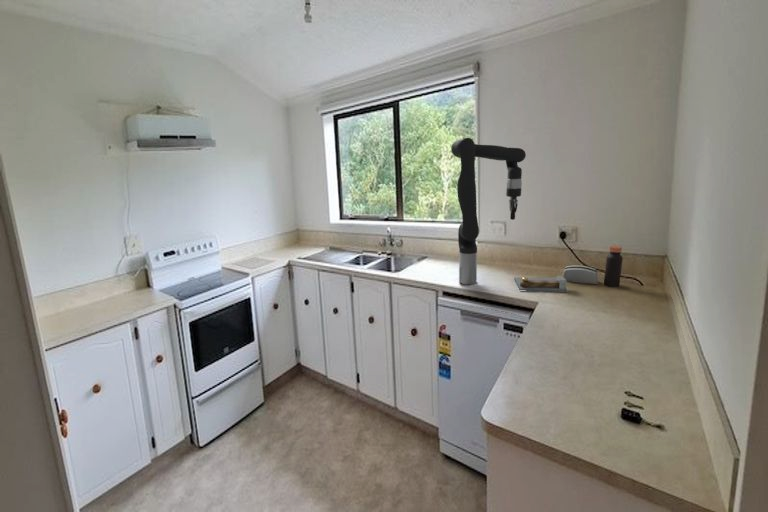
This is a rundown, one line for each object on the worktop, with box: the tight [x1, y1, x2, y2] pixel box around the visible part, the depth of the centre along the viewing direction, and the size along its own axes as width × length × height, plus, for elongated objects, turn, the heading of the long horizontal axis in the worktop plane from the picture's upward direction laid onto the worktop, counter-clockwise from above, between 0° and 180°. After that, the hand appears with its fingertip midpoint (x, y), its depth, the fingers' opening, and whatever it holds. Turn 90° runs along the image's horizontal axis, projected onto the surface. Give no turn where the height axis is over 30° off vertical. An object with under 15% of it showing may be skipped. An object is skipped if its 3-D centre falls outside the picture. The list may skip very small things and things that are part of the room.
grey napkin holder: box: [562, 264, 599, 285], centre depth 192 cm, size 17×5×10 cm, turn 60°
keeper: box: [555, 275, 567, 290], centre depth 183 cm, size 3×7×5 cm, turn 169°
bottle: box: [603, 245, 624, 288], centre depth 183 cm, size 7×7×20 cm
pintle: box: [521, 276, 529, 282], centre depth 186 cm, size 3×3×1 cm
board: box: [513, 276, 568, 293], centre depth 190 cm, size 22×18×1 cm
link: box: [520, 280, 559, 287], centre depth 185 cm, size 21×4×2 cm, turn 80°
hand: (512, 219), depth 201 cm, fingers closed
